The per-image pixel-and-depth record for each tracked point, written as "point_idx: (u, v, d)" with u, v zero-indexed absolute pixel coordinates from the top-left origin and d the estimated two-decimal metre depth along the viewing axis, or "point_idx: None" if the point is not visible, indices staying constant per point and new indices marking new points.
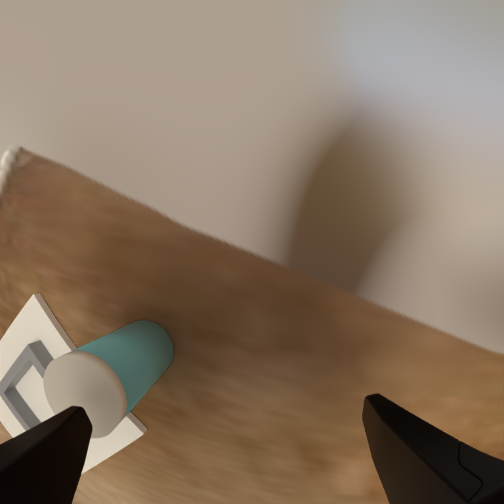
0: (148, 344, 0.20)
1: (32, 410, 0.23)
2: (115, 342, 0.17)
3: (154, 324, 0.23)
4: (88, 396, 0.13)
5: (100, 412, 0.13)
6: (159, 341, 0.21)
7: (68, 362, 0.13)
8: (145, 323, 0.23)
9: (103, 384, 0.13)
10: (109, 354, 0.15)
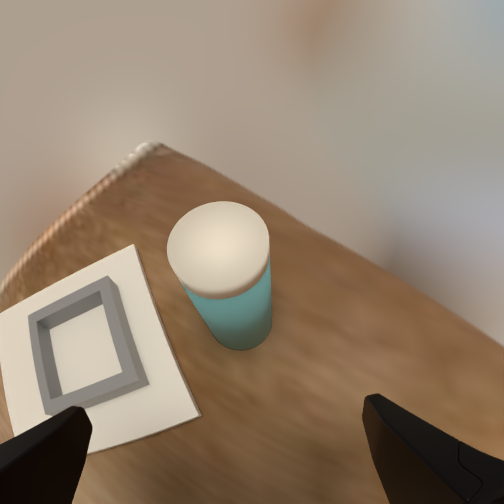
0: None
1: (55, 360, 0.21)
2: None
3: None
4: (234, 237, 0.14)
5: (241, 255, 0.14)
6: None
7: (225, 206, 0.15)
8: None
9: (260, 227, 0.15)
10: None
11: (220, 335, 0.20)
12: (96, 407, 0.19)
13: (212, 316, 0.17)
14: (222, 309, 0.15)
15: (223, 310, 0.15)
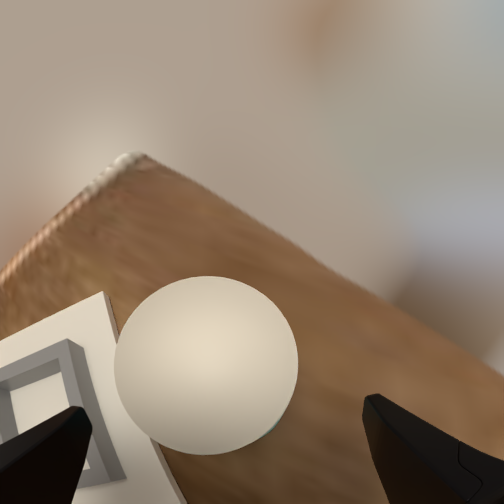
0: None
1: (18, 429, 0.14)
2: None
3: None
4: (232, 356, 0.07)
5: (246, 393, 0.07)
6: None
7: (216, 287, 0.08)
8: None
9: (281, 334, 0.08)
10: None
11: None
12: None
13: None
14: None
15: None
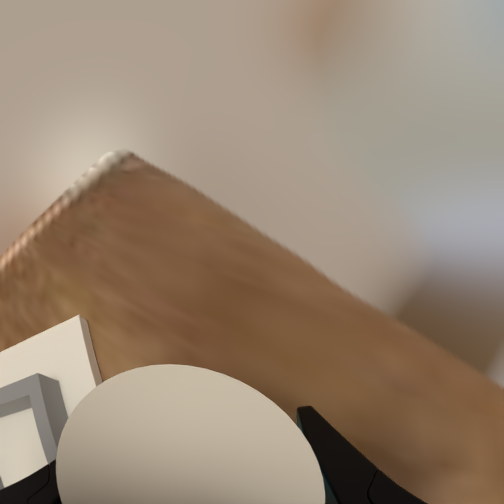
0: None
1: None
2: None
3: None
4: (222, 496, 0.04)
5: None
6: None
7: (193, 385, 0.05)
8: None
9: (301, 465, 0.04)
10: None
11: None
12: None
13: None
14: None
15: None
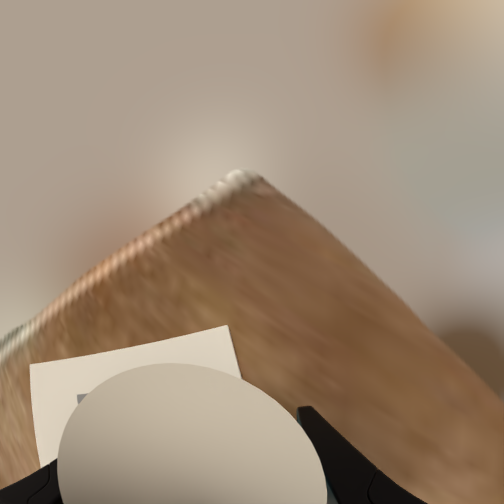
0: None
1: None
2: None
3: None
4: (224, 495, 0.04)
5: None
6: None
7: (196, 384, 0.05)
8: None
9: (303, 463, 0.04)
10: None
11: None
12: None
13: None
14: None
15: None
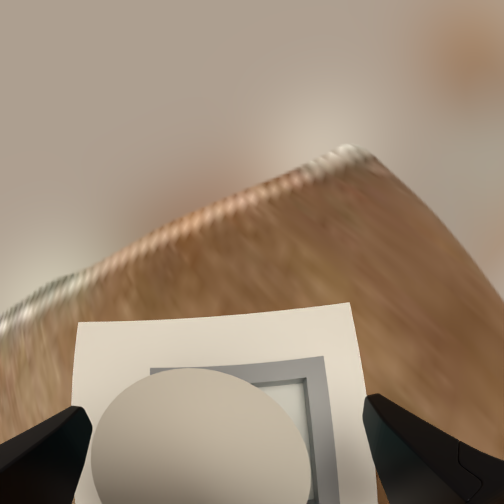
0: None
1: None
2: None
3: None
4: (230, 471, 0.05)
5: None
6: None
7: (208, 384, 0.06)
8: None
9: (291, 446, 0.05)
10: None
11: None
12: None
13: None
14: None
15: None
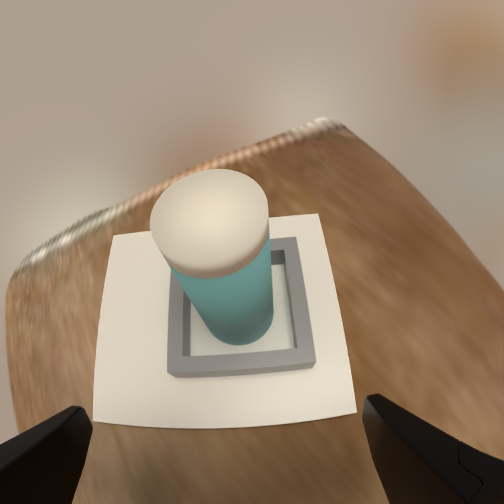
0: None
1: (191, 309, 0.22)
2: None
3: None
4: (227, 206, 0.12)
5: (235, 224, 0.12)
6: None
7: (218, 173, 0.13)
8: None
9: (258, 194, 0.12)
10: None
11: (215, 327, 0.18)
12: (235, 378, 0.19)
13: (204, 302, 0.14)
14: (214, 292, 0.13)
15: (215, 293, 0.13)
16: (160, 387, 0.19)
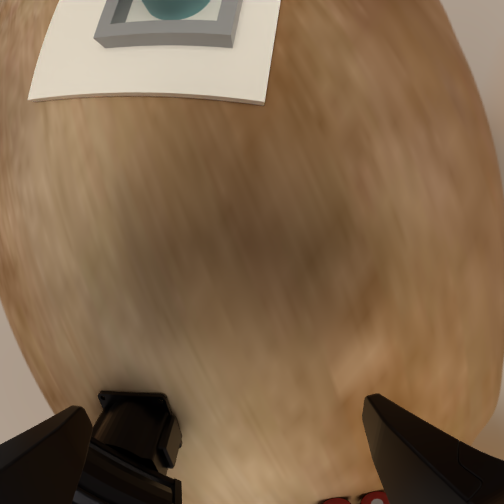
0: None
1: None
2: None
3: None
4: None
5: None
6: None
7: None
8: None
9: None
10: None
11: None
12: (157, 47, 0.16)
13: None
14: None
15: None
16: (89, 58, 0.16)
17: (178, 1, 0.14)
